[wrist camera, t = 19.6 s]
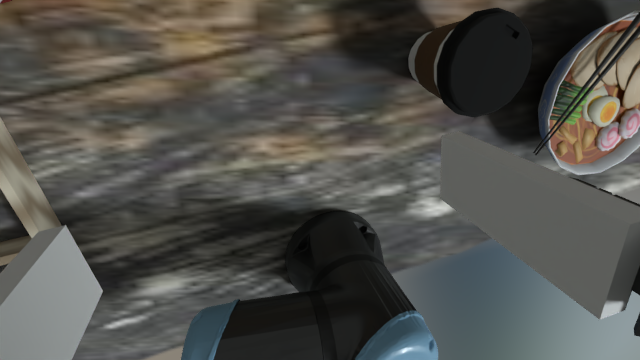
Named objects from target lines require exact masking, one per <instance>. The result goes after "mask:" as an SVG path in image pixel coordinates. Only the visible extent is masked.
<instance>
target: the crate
mask: <svg viewBox="0 0 640 360" xmlns="http://www.w3.org/2000/svg"><path fill="white" fill-rule="evenodd" d="M0 188H1V190H2V192H3V193H4V195H5V196H6V198H7V200H8V201H9V203H10V204H11V206H12V208H13V209H14V211H15V212H16V214H17V216H18V217H19V219H20V220H21V222H22V224H23V225H24V227H25V228H26V230H27V232H28V233H29V235H28V236H24V237H20V238H15V239H11V240H7V241H2V242H0V266H1V265H5V264H9V263H10V262H11V261H12V260H13V259H14V258H15V257H16V256H17V254H18V253H19V252H20V251H21V250H22V249H23V248H24V247H25V246H26V245H27V244H28V242H29V241H30V240H31V239H32V238H33V237H34V236H35V235H36V234H37V233H38V232H39V231H43V230H47V229H52V228H56V227H60V226H62V225H61V223H60V222H59V220H58V218H57V216H56V215H55V213H54V211H53V209H52V208H51V206H50V204H49V202H48V200H47V199H46V197H45V195H44V193H43V192H42V190H41V188H40V186H39V185H38V183H37V181H36V179H35V178H34V176H33V174H32V172H31V170H30V169H29V167H28V165H27V163H26V162H25V160H24V158H23V156H22V155H21V153H20V151H19V149H18V148H17V146H16V144H15V142H14V140H13V139H12V137H11V135H10V133H9V132H8V130H7V128H6V126H5V125H4V123H3V121H2V119H1V118H0Z"/></svg>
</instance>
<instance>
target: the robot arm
mask: <svg viewBox="0 0 640 360" xmlns="http://www.w3.org/2000/svg"><path fill="white" fill-rule="evenodd" d="M440 198H441V199H442V200H443V201H444V202H446V203H447V204H448V205H450V206H451V207H452V208H454V209H455V210H456V211H458V212H459V213H460V214H462V215H463V216H464V217H465V218H467V219H468V220H469V221H471V222H472V223H473V224H475V225H476V226H477V227H479V228H480V229H481V230H483V231H484V232H485V233H486V234H488V235H489V236H490V237H492V238H493V239H494V240H496V241H497V242H498V243H500V244H501V245H502V246H504V247H505V248H506V249H508V250H509V251H510V252H511V253H513V254H514V255H515V256H517V257H518V258H520V259H521V260H522V261H523V262H525V263H526V264H527V265H529V266H530V267H531V268H533V269H534V270H535V271H536V272H538V273H539V274H540V275H542V276H543V277H544V278H546V279H547V280H549V281H550V282H551V283H552V284H554V285H555V286H556V287H558V288H559V289H560V290H561V291H563V292H564V293H565V294H567V295H568V296H569V297H571V298H572V299H573V300H574V301H576V302H577V303H578V304H580V305H581V306H583V307H584V308H585V309H586V310H588V311H589V312H590V313H592V314H593V315H594V316H596V317H597V318H598V319H603V318H605V317H608V316H611V315H613V314H616V313H618V312H621V311H623V310H625V308H626V306H627V303H628V300H629V297H630V295H631V292H632V291H634V292H636V293H637V294H639V295H640V205H639V204H637V203H635V202H632V201H630V200H627V199H625V198H623V197H620V196H618V195H612V193H611V192H608V191H606V190H603V189H601V188H599V189H597V187H596V186H594V185H591V184H589V183H586V182H584V181H581V180H579V179H575V178H571V177H567V176H565V175H562V174H560V173H558V172H555V171H553V170H550V169H548V168H546V167H543V166H541V165H538V164H536V163H534V162H531V161H529V160H526V159H524V158H522V157H519V156H517V155H514V154H512V153H510V152H507V151H505V150H503V149H500V148H498V147H495V146H493V145H491V144H488V143H486V142H483V141H481V140H479V139H476V138H474V137H471V136H469V135H467V134H464V133H462V132H460V131H459V132H455V133H451V134H447V135H442V143H441V190H440ZM285 263H286V268H287V272H288V275H289V278H290V280H291V282H292V284H293V285H294V287H295V288H296V289H297V290H298V291H299V293H292V294H285V295H278V296H271V297H264V298H257V299H250V300H244V301H240V300H239V299H237V300H234V301H233V302H231V303H226V304H221V305H216V306H211V307H207V308H204V309H203V310H201V311H200V312H199V313H198V314H197V315H196V316H195V317H194V319H193V320H192V322H191V324H190V327H189V329H188V332H187V336H186V339H185V343H184V347H183V353H182V357H181V360H438V348H437V345H436V342H435V340H434V338H433V336H432V334H431V332H430V331H429V329H428V327H427V325H426V324H425V322H424V319H423V317H422V316H421V314H420V313H419V312H417V311H416V309H415V308H414V306H413V305H412V304H411V302H410V301H409V299H408V298H407V296H406V295H405V294H404V292H403V291H402V289H401V288H400V286H399V285H398V284H397V282H396V281H395V280H394V278H393V277H392V275H391V274H390V272H389V271H388V270H387V268H386V267H385V265H384V260H383V255H382V250H381V245H380V241H379V238H378V236H377V234H376V232H375V231H374V230H373V228H372V227H371V226H370V224H369V223H368V222H367V221H366V220H365V219H363V218H362V217H360V216H358V215H356V214H353V213H350V212H343V211H336V212H329V213H325V214H322V215H319V216H317V217H315V218H313V219H311V220H309V221H308V222H306V223H305V224H304V225H302V226H301V227H300V228H299V229H298V230H297V231H296V233H295V234H294V235H293V237H292V238H291V240H290V242H289V244H288V247H287V250H286V255H285ZM102 292H103V290H102V288H101V287H100V285H99V283H98V281H97V279H96V278H95V276H94V274H93V272H92V271H91V269H90V267H89V265H88V264H87V262H86V260H85V258H84V257H83V255H82V253H81V251H80V250H79V248H78V246H77V244H76V242H75V241H74V239H73V237H72V235H71V234H70V232H69V230H68V228H67V227H66V225H64V226H60V227H56V228H52V229H47V230H43V231H39V232H38V233H37V234H36V235H35V236H34V237H33V238H32V239H31V240H30V241H29V242H28V244H27V245H26V246H25V247H24V248H23V249H22V250H21V251H20V252H19V253H18V254H17V256H16V257H15V258H14V259H13V260H12V261H11V262H10V263H9V264H8V265H7V266H6V267H5V269H4V270H3V271H2V272H1V273H0V360H72V358H73V356H74V353H75V351H76V349H77V347H78V345H79V342H80V340H81V338H82V336H83V334H84V332H85V329H86V327H87V325H88V323H89V321H90V319H91V316H92V314H93V312H94V310H95V308H96V305H97V303H98V301H99V299H100V297H101V295H102ZM634 335H636V336H640V314H639V316H638V319H637V321H636V324H635V327H634Z"/></svg>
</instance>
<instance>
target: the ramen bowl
mask: <svg viewBox="0 0 640 360" xmlns="http://www.w3.org/2000/svg"><path fill="white" fill-rule="evenodd" d="M538 118H539V130H540V135H541V137H542V139H543V140H542V142H541V143H540V144H539V146H538V147H537V148H536V149H535V151H534V152H533V153H535V152H536V151H537V149H538V148H539V147H540V146H541V144H542V143H543V142H544V144H543V145H542V147H541V148H540V149H539V150H538V152H537V153H536V154H535V155H537V154H538V153H539V152H540V150H541V149H542V148H543V147H544V146H545V145H546V147H547V148H548V150H549V152H550V154H551V156H552V157H553V159H554V161H555V162H556V163H557V164H558V166H559V167H560V168H563V169H565V170H567V171H570V172H572V173H574V174H576V175H583V174H593V173H600V172H602V171H604V170H606V169H608V168H610V167H612V166H614V165H616V164H618V163H619V162H621V161H623V160H625V159H626V158H627V157H628V156H629V155H630V154H631V153H632V152H634V151H635V150H636V149H637V148H638V147H639V146H640V11H639V10H636V11H634V12H632V13H629V14H627V15H625V16H623V17H621V18H619V19H617V20H615V21H613V22H611V23H609V24H607V25H605V26H603V27H600V28H598V29H596V30H594V31H593V32H591V33H590V34H588V35H587V36H585V37H584V38H583V39H582V40H581V41H580V42H578V43H577V44H576V45H575V46H574V47H573V48H572V49H571V50H570V51H569V52H568V53H567V54H566V55H565V56H564V57H563V58H562V59H561V60H560V61H559V62H558V63H557V65H556V67H555V68H554V70H553V72H552V73H551V75H550V77H549V78H548V80H547V82H546V84H545V85H544V89H543V93H542V96H541V100H540V103H539V107H538Z"/></svg>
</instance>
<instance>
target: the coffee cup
mask: <svg viewBox="0 0 640 360" xmlns="http://www.w3.org/2000/svg"><path fill="white" fill-rule="evenodd" d="M532 50H533V46H532V42H531V38H530V34H529V30H528V29H527V27H526V26H525V25H524V24H523V23H522V21H521V20H520V19H519V18H518V17H517V16H516V15H515V14H514V13H511V12H508V11H505V10H503V9H500V8H492V9H487V10H482V11H477V12H474V13H473V14H471V15H470V16H469V17H467V18H466V19H464V20H462V21H459V22H456V23H452V24H449V25H446V26H442V27H439V28H436V29H435V30H433V31H431V32H428V33H426V34H424V35H423V36H421V37H420V38H419V39H418V40H417V41H416V42H415V44H414V45H413V47H412V48H411V51H410V54H409V57H408V63H409V70H410V72H411V75H412V77H413V78H414V79H415V80H416V81H417V82H418V83H420V84H421V85H422V86H423V87H424V88H425V89H427V90H428V91H429V92H431V93H433V94H434V95H436V96H437V97H439V98H440V99H442V100H443V103H444V104H446V105H447V106H448V107H449V108H450V109H451V110H452V111H454V112H455V113H456V114H460V115H465V116H470V117H478V116H482V115H486V114H490V113H492V112H495V111H497V110H499V109H500V108H501V107H503V106H504V105H506V104H507V103H509V102H510V101H511V100H512V99H513V97H514V96H515V95H516V94H517V92H518V91H519V90H520V88H521V87H522V86H523V84H524V82H525V79H526V77H527V74H528V72H529V70H530V67H531V59H532Z"/></svg>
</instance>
